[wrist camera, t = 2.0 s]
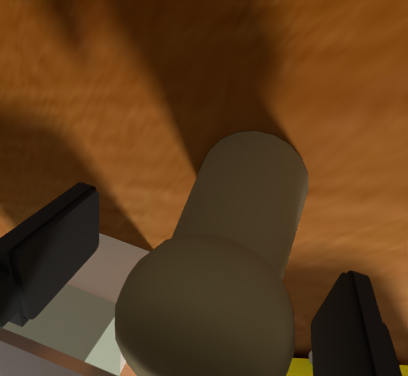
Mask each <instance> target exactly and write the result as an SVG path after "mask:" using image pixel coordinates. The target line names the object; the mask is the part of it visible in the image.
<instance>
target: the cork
mask: <svg viewBox="0 0 408 376" xmlns="http://www.w3.org/2000/svg"><path fill="white" fill-rule="evenodd" d="M307 193H308V172H307V170H306V167H305V165H304V162H303V160H302V158H301V156H300V155H299V154H298V153H297V152H296V151H295V150H294V149H293V147H292V146H291V145H290V144H288V143H287V142H285V141H283V140H281V139H280V138H278V137H276V136H275V135H272V134H267V133H263V132H258V131H247V132H237V133H235V134H232V135H230V136H227V137H225V138H223V139H221V140H220V141H219V142H218V143H217V144H216V145H214V146H213V147H212V148H211V149H210V150H209V152H208V154H207V156H206V158H205V160H204V162H203V164H202V166H201V168H200V171H199V173H198V176H197V178H196V181H195V183H194V185H193V188H192V190H191V193H190V195H189V197H188V200H187V202H186V205H185V207H184V209H183V212H182V214H181V217H180V219H179V221H178V224H177V226H176V229H175V231H174V233H173V236H172V238H171V239H168V240H165V241H164V242H163V243H161V244H160V245H159V246H157V247H156V248H155V249H153V250H152V251H151V252H149V253H148V254H147V255H145V256H144V257H143V258H141V259H140V260H139V261H138V262H137V264H136V265H135V266H134V268H133V269H132V270H131V272H130V273H129V274H128V277H127V279H126V281H125V283H124V285H123V287H122V289H121V291H120V294H119V297H118V299H117V302H116V305H115V340H116V342H117V345H118V347H119V349H120V351H121V354H122V356H123V357H124V359H125V360H126V362H127V364H128V365H129V366H130V367H131V369H132V370H133V371H134V372H135V374H136V375H137V376H286V374H287V372H288V370H289V367H290V364H291V361H292V358H293V355H294V342H295V330H294V312H293V309H292V305H291V301H290V298H289V295H288V293H287V291H286V289H285V287H284V285H283V283H282V279H283V275H284V272H285V269H286V265H287V262H288V258H289V255H290V251H291V248H292V244H293V241H294V238H295V234H296V231H297V227H298V224H299V220H300V217H301V213H302V210H303V206H304V203H305V200H306V196H307Z"/></svg>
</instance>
